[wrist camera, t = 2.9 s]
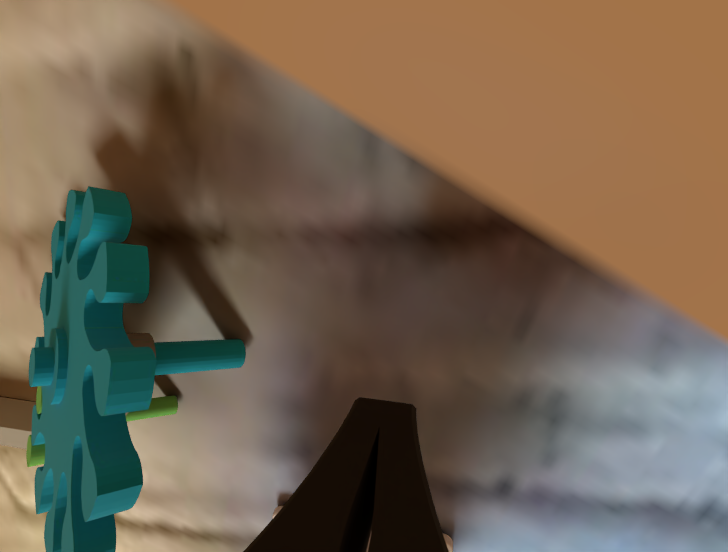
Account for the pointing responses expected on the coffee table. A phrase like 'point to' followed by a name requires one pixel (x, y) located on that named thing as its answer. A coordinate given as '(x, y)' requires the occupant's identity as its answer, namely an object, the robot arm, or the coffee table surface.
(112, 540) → the gear
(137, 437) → the coffee table surface
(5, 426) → the cradle
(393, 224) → the coffee table surface
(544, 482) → the coffee table surface
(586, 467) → the coffee table surface
